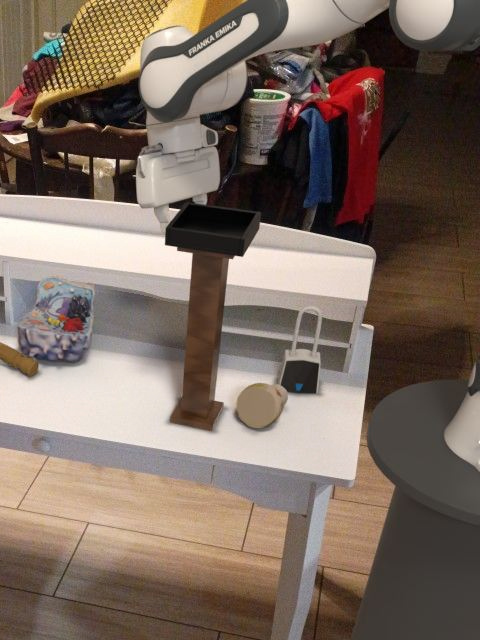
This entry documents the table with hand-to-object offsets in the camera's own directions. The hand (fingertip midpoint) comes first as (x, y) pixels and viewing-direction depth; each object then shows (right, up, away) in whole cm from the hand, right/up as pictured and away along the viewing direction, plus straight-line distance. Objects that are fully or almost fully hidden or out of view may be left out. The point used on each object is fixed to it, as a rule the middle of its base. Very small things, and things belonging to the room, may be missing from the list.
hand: (183, 227), depth 146 cm
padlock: (+19, -28, -1) cm, 34 cm away
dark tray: (+1, -10, -27) cm, 29 cm away
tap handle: (-26, -24, +1) cm, 35 cm away
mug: (+12, -33, -7) cm, 36 cm away
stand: (+1, -33, -7) cm, 34 cm away
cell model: (-21, -8, +14) cm, 27 cm away
